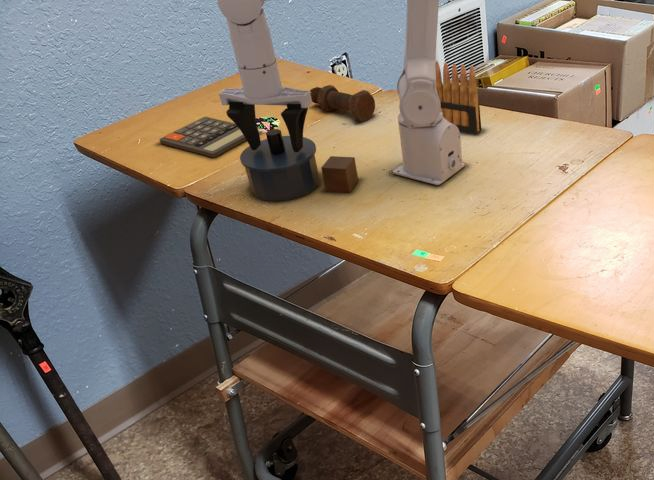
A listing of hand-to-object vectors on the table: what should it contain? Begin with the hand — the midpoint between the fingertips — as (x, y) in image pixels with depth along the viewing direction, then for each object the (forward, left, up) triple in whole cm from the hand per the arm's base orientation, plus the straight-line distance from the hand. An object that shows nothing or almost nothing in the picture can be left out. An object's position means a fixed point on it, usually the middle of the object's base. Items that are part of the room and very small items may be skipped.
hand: (277, 148), depth 114 cm
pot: (0, 0, -6) cm, 6 cm away
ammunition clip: (-13, -31, -7) cm, 34 cm away
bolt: (+12, -28, -7) cm, 31 cm away
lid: (0, 0, -1) cm, 1 cm away
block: (-9, -4, -6) cm, 12 cm away
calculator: (+27, -7, -6) cm, 29 cm away
